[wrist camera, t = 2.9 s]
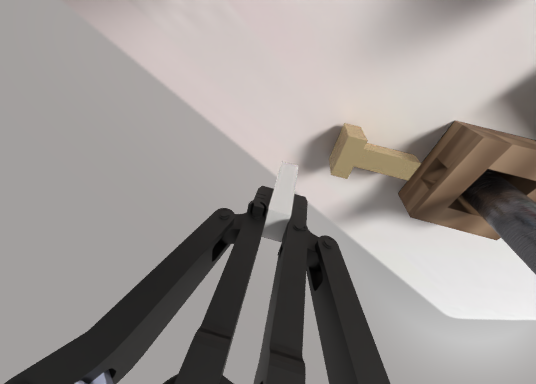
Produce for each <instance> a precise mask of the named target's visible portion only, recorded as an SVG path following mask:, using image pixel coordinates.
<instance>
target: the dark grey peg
mask: <svg viewBox="0 0 536 384" xmlns="http://www.w3.org/2000/svg"><path fill="white" fill-rule="evenodd" d="M461 195H462V196H463V197H464V198H465V200H466V201H467V202H468V203H469V204H470V205H471V206H472V207H473V208H474V209H475V210H476V211H477V212H478V213H479V214H480V215H481V217H482V218H483V219H484V220H485V221H486V222H487V223H488V224H489V225H490V226H491V227H492V228H493V229H494V230H495V231H496V233H497V234H498V235H499V236H500V237H501V238H502V239H503V240H504V241H505V242H506V243H507V244H508V245H509V246H510V247H511V249H512V250H513V251H514V252H515V253H516V254H517V255H518V256H519V257H520V258H521V259H522V260H523V261H524V262H525V263H526V264H527V266H528V267H529V268H530V269H531V270H532V271H533V272H534V273H535V274H536V202H535V201H534V200H532V199H531V198H529V197H528V196H527V195H525V194H524V193H523V192H521V191H520V190H519V189H517V188H516V187H514V186H513V185H512V184H510V183H509V182H508V181H506V180H505V179H504V178H502V177H501V176H500V175H498V174H497V173H495V172H494V171H493V170H491V169H487V170H486V171H485V172H484V173H483V174H482V175H481V176H480V177H479V178H478V179H477V180H476V181H474V182H473V183H472V184H471V185H470V186H469V187H468V188H467V189H466V190H465V191H464V192H463V193H462V194H461Z"/></svg>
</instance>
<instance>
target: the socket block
mask: <svg viewBox="0 0 536 384" xmlns="http://www.w3.org/2000/svg"><path fill="white" fill-rule="evenodd" d="M487 169H491V170H495V171H494V172H495V173H497V174H498V175H500V176H501V177H502V178H504V179H505V180H506V181H508V182H509V183H510V184H512V185H513V186H514V187H516V188H517V189H519V190H520V191H521V192H523V193H524V194H525V195H527V196H528V197H529V198H531V199H532V200H534V201H535V202H536V140H532V139H528V138H524V137H520V136H515V135H511V134H507V133H503V132H499V131H495V130H491V129H487V128H483V127H479V126H475V125H471V124H467V123H463V122H459V121H454V122H453V124H452V125H451V126H450V128H449V129H448V130H447V131H446V133H445V134H444V135H443V137H442V138H441V139H440V140H439V142H438V143H437V144H436V146H435V147H434V148H433V149H432V151H431V152H430V153H429V155H428V156H427V157H426V158H425V160H424V161H423V162H422V164H421V165H420V166H419V167H418V169H417V170H416V171H415V173H414V174H413V175H412V176H411V178H410V179H409V180H408V182H407V183H406V184H405V185H404V187H403V188H402V189H401V191H400V192H399V193H398V195H399V197H400V198H401V200H402V202H403V204H404V206H405V208H406V210H407V212H408V214H409V215H410V217H411V218H415V219H419V220H423V221H426V222H430V223H434V224H438V225H441V226H445V227H449V228H453V229H456V230H460V231H464V232H468V233H471V234H475V235H479V236H483V237H486V238H490V239H494V240H498V239H499V238H501V237H500V236H499V235H498V234H497V233H496V231H495V230H494V229H493V228H492V227H491V226H490V225H489V224H488V223H487V222H486V221H485V220H484V219H483V218H482V217H481V215H480V214H479V213H478V212H477V211H476V210H475V209H474V208H473V207H472V206H471V205H470V204H469V203H468V202H467V201H466V200H465V198H464V197H463V196H462V195H461V194H462V193H463V192H464V191H465V190H466V189H467V188H468V187H469V186H470V185H471V184H472V183H473V182H474V181H476V180H477V179H478V178H479V177H480V176H481V175H482V174H483V173H484V172H485V171H486V170H487Z"/></svg>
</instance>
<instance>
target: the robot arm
mask: <svg viewBox="0 0 536 384" xmlns="http://www.w3.org/2000/svg"><path fill="white" fill-rule="evenodd" d="M297 172H298V165H294V164H290V163H287V162H283V161H282V164H281V167H280V170H279V174H278V177H277V181H276V184H275V188H274V189H272V188H269V187H265V186H261V187H260V188H259V189H258V191H257V193H256V196H255V198H254V200H253V201H251V202H250V203H249V205H248V210H247V213H244V214H234V212H233V211H232V210H230V209H227V208H221V209H218V210H217V211H215V212H214V213H213V214H212V215H211V216H210V217H209V218H208V219H207V220H206V221H205V222H203V224H201V225H200V226H199V227H198V228H197V229H196V230H195V231H194V232H193V233H192V234H191V235H190V236H189V237H187V238H186V239H185V240H184V241H183V242H182V243H181V244H180V245H179V246H178V247H177V248H176V249H175V250H174V251H173V252H172V253H170V254H169V255H168V256H167V257H166V258H165V259H164V260H163V261H162V262H161V263H160V264H159V265H158V266H157V267H156V268H155V269H153V270H152V271H151V272H150V273H149V274H148V275H147V276H146V277H145V278H144V279H143V280H142V281H141V282H140V283H139V284H137V285H136V286H135V287H134V288H133V289H132V290H131V291H130V292H129V293H128V294H127V295H126V296H125V297H124V298H123V299H122V300H120V301H119V302H118V303H117V304H116V305H115V306H114V307H113V308H112V309H111V310H110V311H109V312H108V313H107V314H106V315H105V316H103V317H102V318H101V319H100V320H99V321H98V322H97V323H96V324H95V325H94V326H93V327H92V328H91V329H90V330H89V331H87V332H86V333H85V334H83V335H81V336H79V337H78V338H76V339H74V340H73V341H71V342H70V343H68V344H66V345H65V346H63V347H61V348H60V349H58V350H57V351H55V352H53V353H52V354H50V355H49V356H47V357H45V358H44V359H42V360H40V361H39V362H37V363H36V364H34V365H32V366H31V367H29V368H27V369H26V370H24V371H23V372H21V373H20V374H18V375H16V376H15V377H13V378H11V379H10V380H8V381H7V382H6V383H5V384H116V383H118V382H119V381H120V380H121V379H122V378H123V377H124V376H125V375H126V374H127V373H128V372H129V371H130V370H131V369H132V368H133V366H134V365H135V364H136V363H137V362H138V361H139V359H140V358H141V357H142V356H143V355H144V353H145V352H146V351H147V350H148V348H149V347H150V346H151V345H152V343H153V342H154V341H155V339H156V338H157V337H158V335H159V334H160V333H161V332H162V331H163V329H164V328H165V327H166V326H167V324H168V323H169V322H170V321H171V319H172V318H173V317H174V315H175V314H176V313H177V312H178V310H179V309H180V308H181V307H182V305H183V304H184V303H185V302H186V300H187V299H188V298H189V296H190V295H191V294H192V293H193V291H194V290H195V289H196V288H197V286H198V285H199V284H200V282H201V281H202V280H203V279H204V278H205V276H206V275H207V274H208V272H209V271H210V270H211V269H212V267H213V266H214V265H215V263H216V262H217V261H218V260H219V259H220V257H221V256H222V255H223V253H224V252H225V251H226V250H227V248H228V247H229V246H230V244H234V246H233V249H232V251H231V254H230V256H229V259H228V261H227V263H226V266H225V268H224V271H223V273H222V276H221V278H220V280H219V283H218V285H217V288H216V290H215V293H214V295H213V298H212V300H211V303H210V305H209V307H208V310H207V313H206V315H205V317H204V320H203V322H202V324H201V326H200V328H199V329H198V330H197V332H196V334H195V336H194V338H193V340H192V343H191V345H190V347H189V350H188V352H187V355H186V357H185V359H184V362H183V364H182V367H181V369H180V371H179V374H177V375H175V376H173V377H171V378H170V379H169V380H167V381H166V382H164V383H163V384H233V383H232V382H231V381H229V380H228V379H227V378H226V377H224V376H223V372H224V368H225V365H226V361H227V357H228V353H229V350H230V346H231V343H232V339H233V336H234V332H235V329H236V325H237V322H238V318H239V315H240V311H241V308H242V304H243V300H244V297H245V293H246V290H247V286H248V283H249V279H250V276H251V272H252V269H253V265H254V262H255V258H256V254H257V251H258V247H259V244H260V240H261V237H264V238H268V239H272V240H275V241H279V242H282V244H281V247H280V249H279V252H278V261H277V266H276V272H275V277H274V283H273V288H272V294H271V299H270V304H269V310H268V315H267V322H266V326H265V332H264V338H263V343H262V349H261V353H260V359H259V364H258V368H257V371H256V375H255V380H254V384H305V363H304V361H303V358H302V346H303V325H304V304H305V284H306V271H307V276H308V281H309V286H310V291H311V296H312V301H313V306H314V310H315V316H316V321H317V325H318V330H319V335H320V340H321V345H322V350H323V355H324V360H325V365H326V370H327V375H328V380H329V384H390V382H389V379H388V376H387V374H386V371H385V368H384V366H383V363H382V361H381V358H380V355H379V353H378V350H377V347H376V344H375V342H374V339H373V336H372V334H371V331H370V329H369V326H368V323H367V321H366V318H365V315H364V313H363V310H362V307H361V305H360V302H359V300H358V297H357V294H356V291H355V289H354V286H353V283H352V281H351V278H350V275H349V273H348V270H347V267H346V265H345V262H344V259H343V257H342V254H341V251H340V249H339V246H338V244H337V242H336V241H335V240H334V239H333V238H331V237H329V236H321V237H317V236H315V235H314V234H312V233H311V232H310V231H309V230H308V228H307V226H306V220H307V200H306V198H305V197H303V196H300V195H296V194H294V192H295V186H296V179H297Z"/></svg>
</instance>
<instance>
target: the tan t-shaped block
mask: <svg viewBox="0 0 536 384" xmlns="http://www.w3.org/2000/svg"><path fill="white" fill-rule="evenodd" d="M329 161H330V170H331V175H334V176H338V177H342V178H345V179H347V178H348V176H349V175H350V173H351V171H352V169H353V167H358V168H362V169H366V170H369V171H373V172H377V173H381V174H385V175H389V176H392V177H396V178H400V179H404V180H409V179H410V177H411V176H412V175H413V174H414V172H415V171H416V170H417V168H418V167H419V166H420V165H421V163H420V161H419V160H418V159H417V158H416V157H415V155H412V154H408V153H404V152H400V151H396V150H392V149H388V148H385V147H381V146H377V145H373V144H369V143H367V139H366V137H365V135H364V133H363V131H362V129H361V127H358V126H354V125H350V124H346V123H344V126H343V128H342V130H341V132H340V135H339V137H338V139H337V142H336V144H335V146H334V149H333V151H332V153H331V156H330V158H329Z"/></svg>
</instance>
